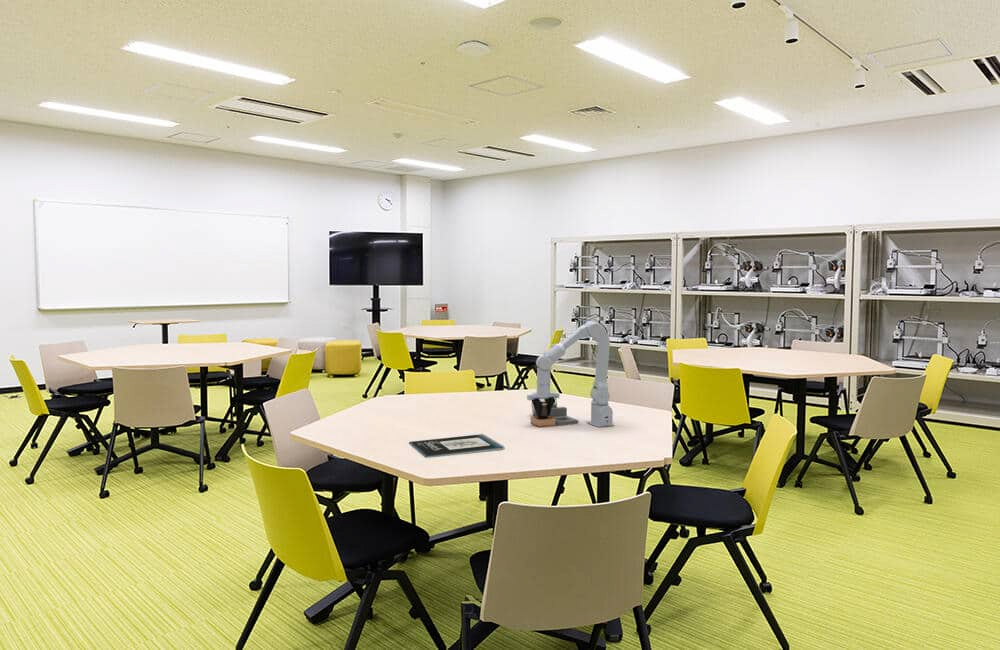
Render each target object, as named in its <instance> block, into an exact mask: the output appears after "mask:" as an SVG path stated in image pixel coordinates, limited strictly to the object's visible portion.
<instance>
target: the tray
mask: <svg viewBox="0 0 1000 650" xmlns="http://www.w3.org/2000/svg"><path fill="white" fill-rule="evenodd" d="M555 421H556V419H555V418H552V417H550V416H548V419H544V420H539V419H538V416H533V415H532V416H530V425H532V426H534V427H535V426H536V427H538V428H545V427H556V425H555Z"/></svg>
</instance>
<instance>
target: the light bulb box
mask: <svg viewBox="0 0 1000 650" xmlns="http://www.w3.org/2000/svg"><path fill="white" fill-rule="evenodd" d="M550 393H557V392H556V390H550ZM532 394H537V392H532V393H531V395H532ZM541 398H543V397H541ZM554 399H555V403H554V404H553V406H552V407H558V400H557V399H558V398H554ZM539 400H540V401H545V399H539ZM530 405H531V411H532V412H531V413H532V417H533V416H537V415H536V411H535V407H534V405H533V403H532V402H531V404H530Z"/></svg>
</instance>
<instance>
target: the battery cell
mask: <svg viewBox="0 0 1000 650" xmlns="http://www.w3.org/2000/svg"><path fill="white" fill-rule="evenodd" d="M538 419H539V420H544V419H548V402H545V401H542V403H541V414H540V417H538Z"/></svg>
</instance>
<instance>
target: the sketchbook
mask: <svg viewBox="0 0 1000 650" xmlns="http://www.w3.org/2000/svg"><path fill="white" fill-rule="evenodd" d="M408 444H409V445H410V446H411V447H412V448H414V449H415V450H416V451H417V452H419V454H421V455H422V456H423V457H424V458H426V459H427V458H428V459H429V458H438V457H446V456H457V455H459V456H460V455H465V454H466V455H468V454H478V453H485V452H496V451H503V450H505V449H506V448H505V446H504V445H503V444H502V443H500V442H498V441H496V440H494V439H493V438H491V437H489V436H488V435H487V434H485V433H479V434H471V435H470V434H469V435H462V436H452V437H441V438H434V439H433V438H431V439H422V440H414V441H409V442H408Z"/></svg>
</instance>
